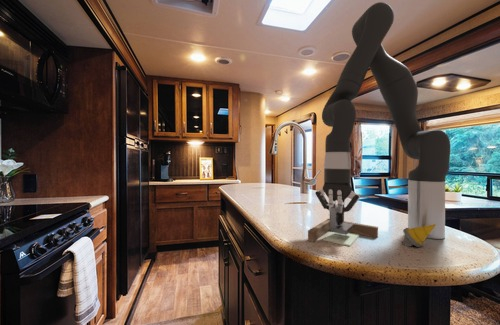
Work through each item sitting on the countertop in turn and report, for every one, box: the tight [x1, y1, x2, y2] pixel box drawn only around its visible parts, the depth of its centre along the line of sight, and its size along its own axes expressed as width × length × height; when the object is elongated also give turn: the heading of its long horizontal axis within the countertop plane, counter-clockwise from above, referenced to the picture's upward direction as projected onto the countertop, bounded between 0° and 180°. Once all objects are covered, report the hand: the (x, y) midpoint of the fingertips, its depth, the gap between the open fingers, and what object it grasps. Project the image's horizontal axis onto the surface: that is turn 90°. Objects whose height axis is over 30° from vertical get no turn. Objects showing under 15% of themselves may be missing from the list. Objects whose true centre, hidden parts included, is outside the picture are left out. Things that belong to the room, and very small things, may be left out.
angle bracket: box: [329, 203, 353, 235], centre depth 65 cm, size 8×4×7 cm, turn 142°
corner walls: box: [307, 218, 379, 243], centre depth 65 cm, size 18×15×3 cm
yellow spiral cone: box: [402, 224, 436, 248], centre depth 59 cm, size 5×5×10 cm
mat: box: [322, 232, 360, 247], centre depth 65 cm, size 11×8×1 cm
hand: (336, 223), depth 66 cm, fingers closed on angle bracket, 1 cm apart
